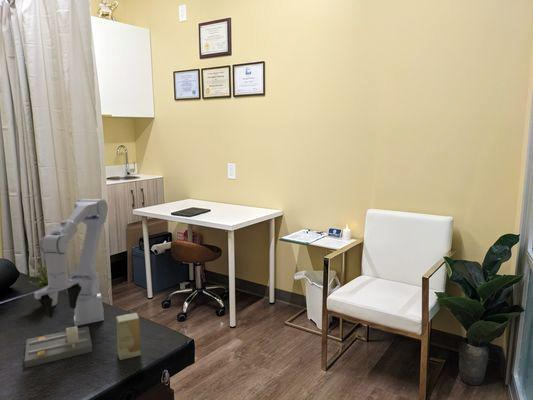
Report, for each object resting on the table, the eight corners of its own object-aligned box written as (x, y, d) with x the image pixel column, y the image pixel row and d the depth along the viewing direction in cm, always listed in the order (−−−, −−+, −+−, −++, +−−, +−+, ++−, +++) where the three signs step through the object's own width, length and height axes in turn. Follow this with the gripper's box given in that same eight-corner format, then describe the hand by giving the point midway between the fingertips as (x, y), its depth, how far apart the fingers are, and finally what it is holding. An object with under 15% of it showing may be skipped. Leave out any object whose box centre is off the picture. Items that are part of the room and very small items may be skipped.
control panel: (88, 331, 139) (88, 324, 138) (92, 351, 127) (91, 343, 126) (27, 345, 131) (26, 337, 130) (25, 367, 118) (24, 359, 118)
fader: (77, 334, 133) (77, 325, 132) (78, 340, 129) (77, 331, 128) (67, 336, 131) (66, 328, 131) (67, 343, 127) (66, 334, 127)
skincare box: (119, 360, 122) (116, 322, 119) (117, 353, 125) (114, 316, 123) (142, 355, 124) (139, 317, 122) (139, 348, 128) (136, 311, 126)
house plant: (18, 306, 159) (13, 265, 156) (54, 293, 170) (50, 256, 167) (37, 315, 151) (32, 273, 148) (73, 302, 162) (69, 262, 159)
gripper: (72, 263, 138) (75, 301, 140) (27, 276, 126) (32, 317, 128) (84, 267, 134) (87, 306, 136) (38, 281, 122) (43, 323, 124)
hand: (61, 312), depth 132 cm, fingers open, 7 cm apart
